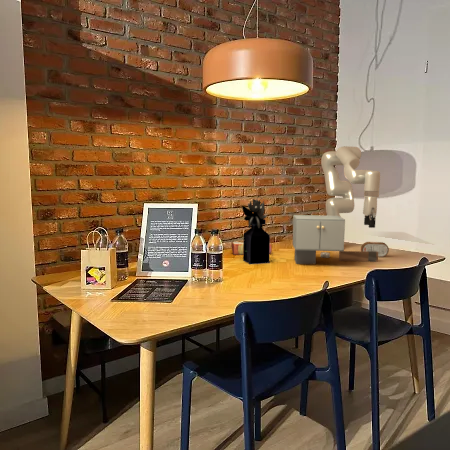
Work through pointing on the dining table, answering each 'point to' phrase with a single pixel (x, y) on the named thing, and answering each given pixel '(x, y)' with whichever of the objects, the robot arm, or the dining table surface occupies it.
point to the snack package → (241, 248)
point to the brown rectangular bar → (358, 256)
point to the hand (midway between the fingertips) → (369, 226)
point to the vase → (255, 235)
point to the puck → (325, 254)
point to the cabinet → (316, 236)
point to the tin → (376, 248)
